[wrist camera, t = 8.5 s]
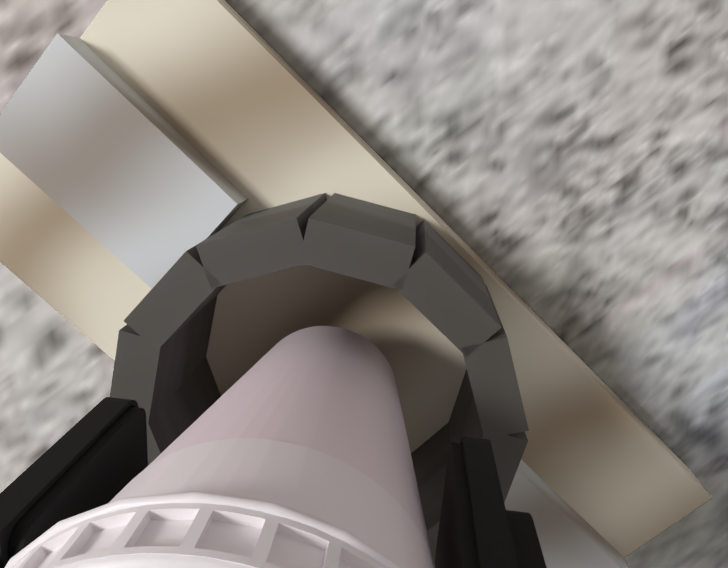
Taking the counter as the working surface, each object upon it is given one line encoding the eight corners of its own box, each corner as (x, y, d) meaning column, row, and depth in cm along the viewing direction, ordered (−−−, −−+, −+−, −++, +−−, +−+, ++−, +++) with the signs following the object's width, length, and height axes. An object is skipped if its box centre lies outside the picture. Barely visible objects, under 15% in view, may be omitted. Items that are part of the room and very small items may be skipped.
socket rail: (689, 469, 19) (793, 604, 14) (462, 628, 22) (477, 794, 16) (177, -48, 16) (60, -125, 11) (-16, 209, 19) (-185, 247, 13)
